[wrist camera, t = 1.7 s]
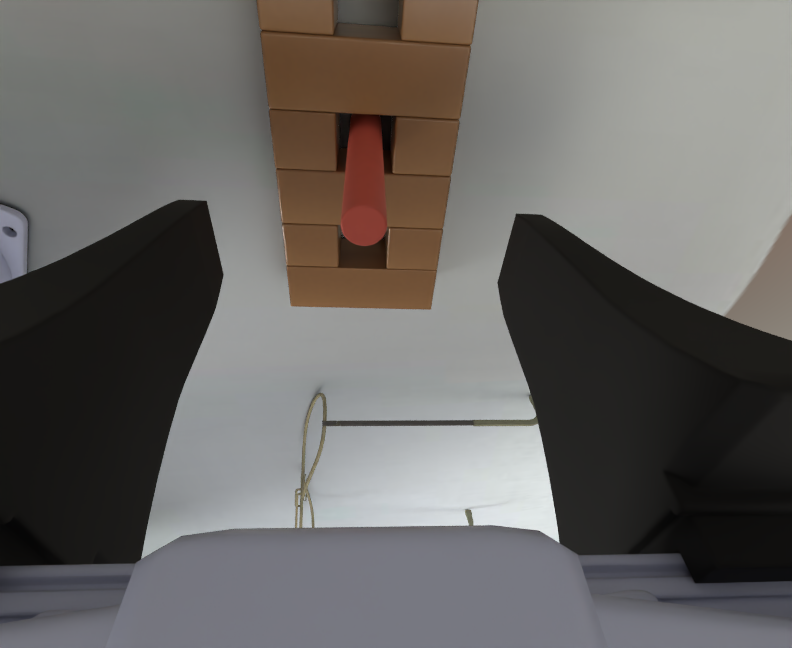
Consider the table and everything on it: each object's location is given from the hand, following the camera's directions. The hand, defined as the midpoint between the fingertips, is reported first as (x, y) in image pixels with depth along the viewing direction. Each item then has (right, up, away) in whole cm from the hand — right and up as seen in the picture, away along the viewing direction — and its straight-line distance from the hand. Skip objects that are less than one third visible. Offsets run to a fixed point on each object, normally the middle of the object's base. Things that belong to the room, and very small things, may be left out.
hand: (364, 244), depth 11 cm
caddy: (0, +6, +7) cm, 9 cm away
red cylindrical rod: (0, +6, +7) cm, 9 cm away
